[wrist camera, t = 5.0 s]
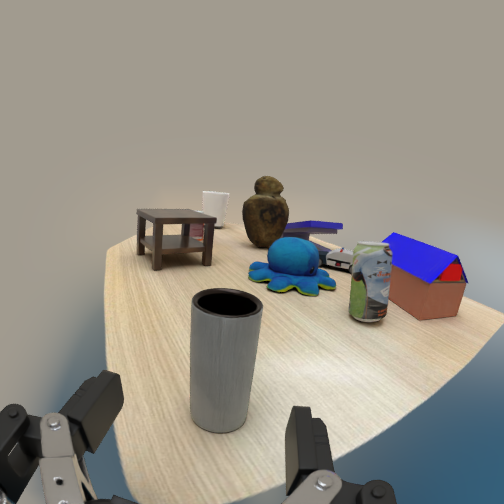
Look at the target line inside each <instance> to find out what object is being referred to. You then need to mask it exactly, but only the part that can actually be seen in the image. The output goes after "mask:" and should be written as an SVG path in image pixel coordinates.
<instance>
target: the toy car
mask: <svg viewBox="0 0 504 504" xmlns="http://www.w3.org/2000/svg"><path fill="white" fill-rule="evenodd" d="M318 252H319V265H318V267H320V266H321V265H322V264H327V265H331V266H336V267H341V268H345V269H348V268H349V272H350V273H351V274H352V265H353V251H351V250H347V249H344V248H342V249H335V250H333V251H330V252H328V251H318Z"/></svg>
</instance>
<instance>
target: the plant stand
mask: <svg viewBox="0 0 504 504" xmlns="http://www.w3.org/2000/svg"><path fill="white" fill-rule="evenodd" d="M137 215H138V225H137V254H138V255H145V247H147V248H148V249H149V250H150V251H152V269H153V270H154V271H155V270H161V264H162V254H175V253H190V252H202V264H203V265H204V266H211V260H212V248H213V236H214V225H215V224H216V223H217V218H216V217H213V216H209V215H206V214H203V213H200V212H197V211H193V210H190V209H137ZM146 220H148V221H150V222H152V223H153V236H145V225H146ZM163 224H182V231H181V235H163ZM190 224H205V227H204V239H203V243H202V242H200V241H198V240H196V239H194V238H192V237H190V236H189V234H190Z"/></svg>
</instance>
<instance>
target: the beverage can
mask: <svg viewBox="0 0 504 504" xmlns="http://www.w3.org/2000/svg"><path fill="white" fill-rule="evenodd" d="M357 243H358V244H357V246H356V247H355V249H354V251H353V265H352V279H351V292H350V303H349V313H350V314H351V315H352V316H353V317H354V318H355V319H357V320H359V321H364V322H375V321H379V320H380V319H381V318H383V317H385V316H386V313H387V306H388V297H389V288H390V278H391V267H392V251H391V249H390V248H389V244H388V243H382V242H357Z"/></svg>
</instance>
